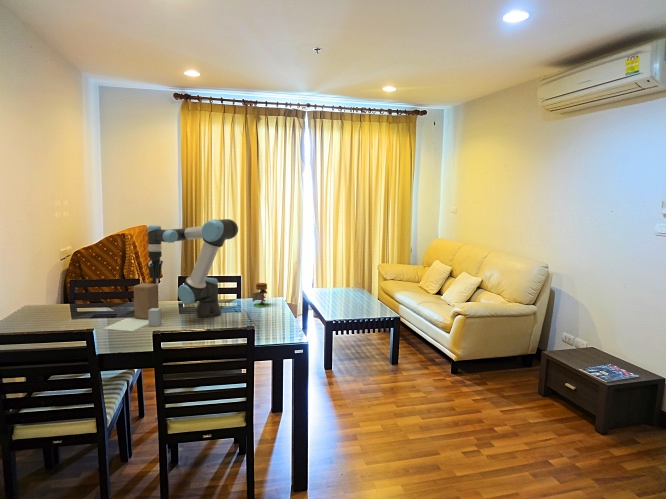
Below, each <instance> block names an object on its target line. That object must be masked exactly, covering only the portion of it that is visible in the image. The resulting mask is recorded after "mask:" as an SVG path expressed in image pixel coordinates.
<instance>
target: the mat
mask: <svg viewBox="0 0 666 499" xmlns="http://www.w3.org/2000/svg"><path fill="white" fill-rule="evenodd" d="M146 326H149V320H145V319H136V318H130V317H129V318H126V317H125V319H122V320H119V321H117V322H114V323H112V324H109V325H108V326H107V325H106V326H105V327H102V330H106V331H107V330H108V331H117V332H118V331H119V332H130V333H131V332H132V333H133V332H136V331H138V330H140V329H143V328H144V327H146Z"/></svg>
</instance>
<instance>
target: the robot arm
mask: <svg viewBox="0 0 666 499" xmlns="http://www.w3.org/2000/svg"><path fill="white" fill-rule="evenodd" d="M146 232H147V254H148V255H147V256H148V258H149V262H148V263H146V265H147V269H148V273H149V278H150V279H152V284H158V285H159V279H160V278H161V275H162V267H163V266H162V265H163V262H164V261H163V260H162V259H161V258H162V243H168V244H169V243H170V244H171V243H173V244H174V243H175V242H181V241H190V240H201V239H202V241H203V244H202V247H201V249H200V252H199V254H198V257H197V259H196V261H195V264H194V267H193V268H192V269H193V270H192V271H191V274H190V276H188V277H186V279H185V282H184V284H181V285H179V287H178V288H177V296H178V299H179V300H180V301H181V302H182V303H183V304H186V305H191V304H194V303H197V305H196V306H197V307H196V309H195V316H196V317H198V318H205V319H206V318H215V317H219V316H221V315H222V309H221V306H220V303H219V280H218V279H217V278H215V277H208V275H209V273H210V270H211V268H212V265H213V263H214V260H215V258H216V256H217V253H218V251H219V248H222V247H223V246H224V243H225V241H227V240H231V239H234V238H235V237H236V236H237V235H238V232H239V226H238V224H237V223H236V222H235V220H233V219H229V218H225V219H217V218H216V219H210V220H207V221H206V222H205V223H204V224H203V225H200V226H192V227H185V228H183V227H182V228H173V229H162V226H161V225H158V224H157V225H156V224H155V225H154V224H153V225H148V226H147V231H146Z"/></svg>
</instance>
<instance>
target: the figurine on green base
mask: <svg viewBox="0 0 666 499" xmlns="http://www.w3.org/2000/svg"><path fill="white" fill-rule="evenodd" d="M255 289H256V290H257V292H253V293H252V295H251V296H252V303H254V302H255V301H259V302H257V303H254V304H253V305H254V306H255V308H267V307H266V306H268V307H270V303H267V302H266V300H265V299H266V296H265V294H268V291H267V290H268V284H267V283H266V282H265V283H264V282H257V283H256V284H255ZM258 291H259V292H258ZM254 306H253V307H254Z"/></svg>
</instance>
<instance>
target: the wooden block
mask: <svg viewBox="0 0 666 499" xmlns="http://www.w3.org/2000/svg"><path fill="white" fill-rule="evenodd" d="M133 303H134V304H133V306H134V307H133V309H134V310H133V312H134V319H142V320H149V319H148V310H150V309H152V308H159V283H158V284H153V282H152V283H150V282H149V283H148V282H143V283H139V284H136V285H134V286H133Z"/></svg>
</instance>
